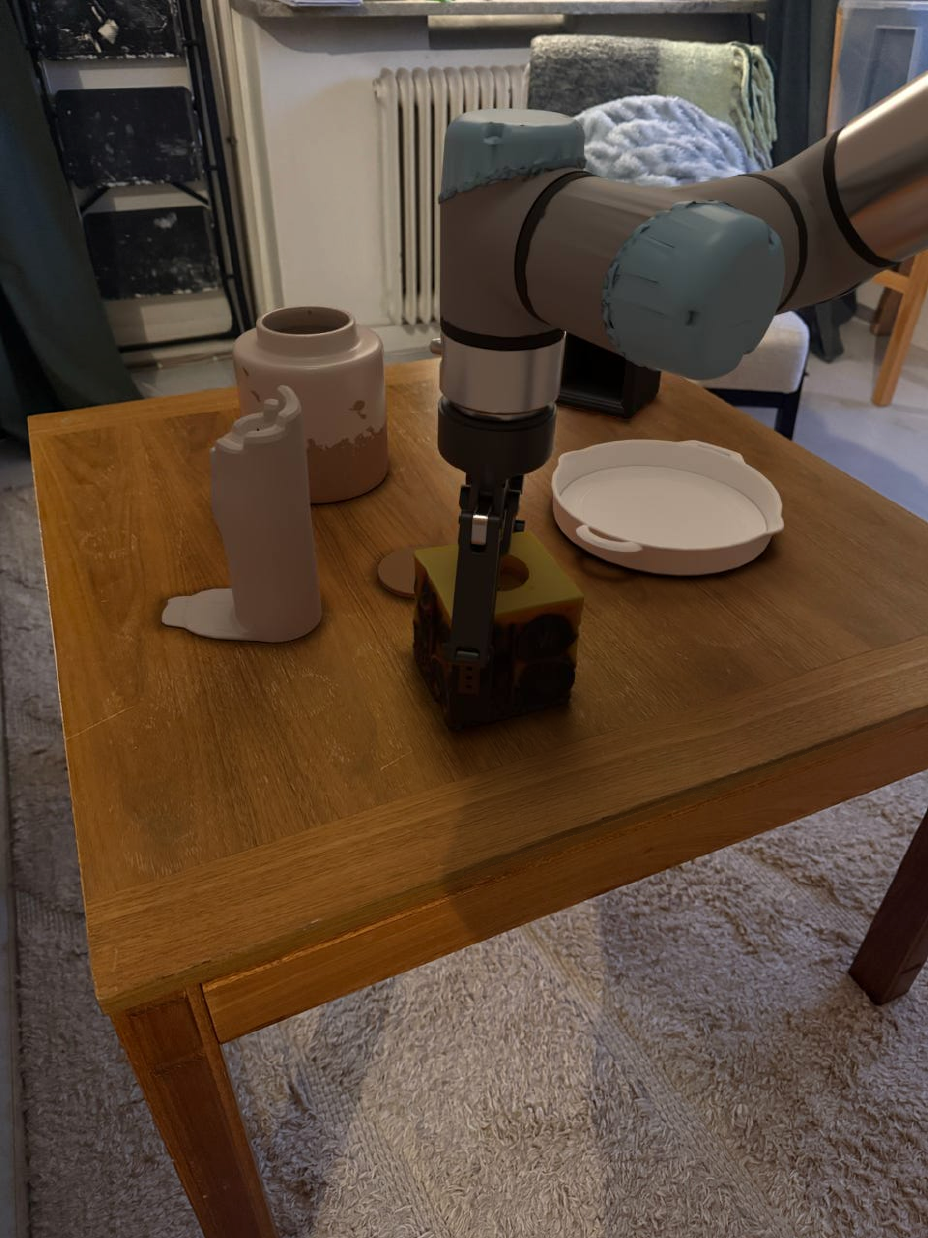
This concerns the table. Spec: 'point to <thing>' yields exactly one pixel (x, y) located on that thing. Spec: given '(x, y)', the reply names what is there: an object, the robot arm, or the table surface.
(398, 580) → the coaster
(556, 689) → the candle
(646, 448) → the pan
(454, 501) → the table surface
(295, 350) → the vase
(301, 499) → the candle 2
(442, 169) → the robot arm
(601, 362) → the black mini drawer cabinet
